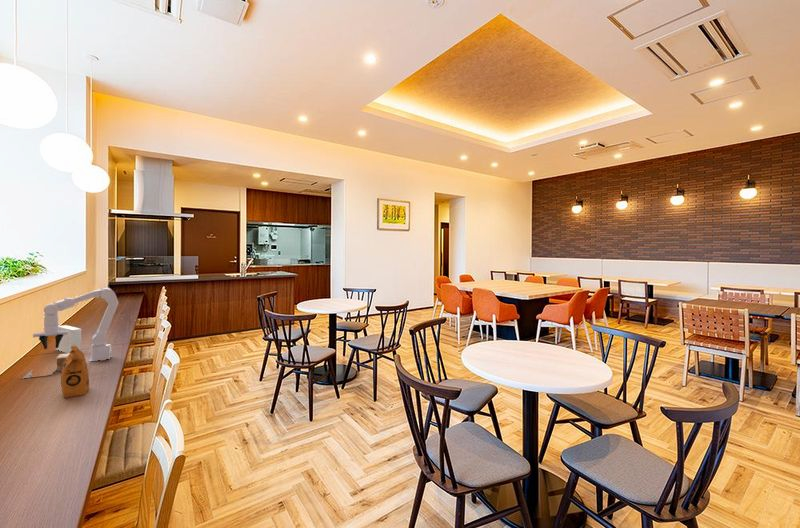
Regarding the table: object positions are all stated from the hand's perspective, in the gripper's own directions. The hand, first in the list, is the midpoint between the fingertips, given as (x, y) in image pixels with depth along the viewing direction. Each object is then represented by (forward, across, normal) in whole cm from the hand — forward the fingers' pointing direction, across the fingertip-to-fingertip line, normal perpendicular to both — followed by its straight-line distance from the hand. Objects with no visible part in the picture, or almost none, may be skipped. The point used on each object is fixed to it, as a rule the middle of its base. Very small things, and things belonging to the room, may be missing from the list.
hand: (51, 348), depth 195 cm
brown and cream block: (+10, -7, +9) cm, 16 cm away
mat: (+10, +1, +9) cm, 14 cm away
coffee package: (+11, -21, +52) cm, 57 cm away
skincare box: (+11, 0, -32) cm, 34 cm away
